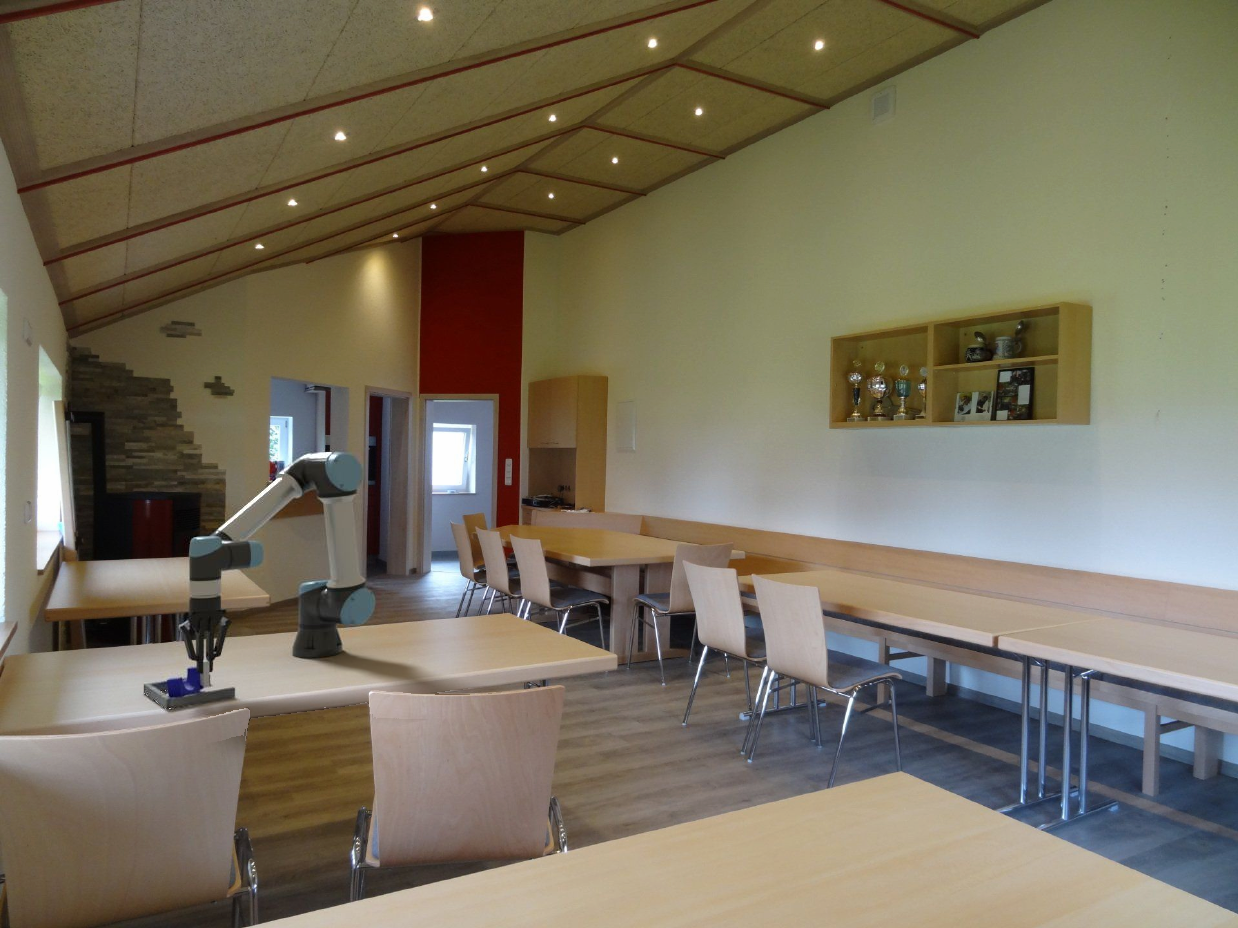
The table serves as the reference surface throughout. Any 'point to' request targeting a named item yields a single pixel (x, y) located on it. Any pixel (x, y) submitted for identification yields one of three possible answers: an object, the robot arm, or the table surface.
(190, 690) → the cable clip
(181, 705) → the bracket
